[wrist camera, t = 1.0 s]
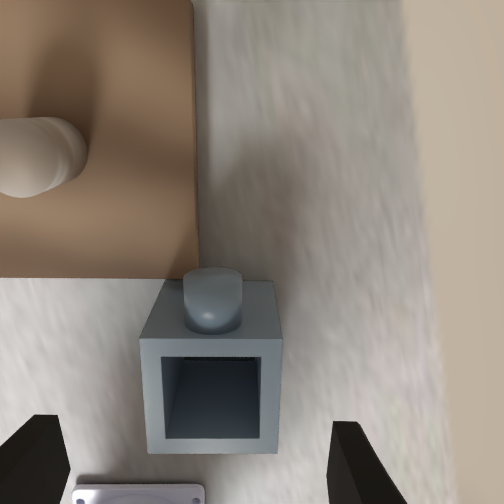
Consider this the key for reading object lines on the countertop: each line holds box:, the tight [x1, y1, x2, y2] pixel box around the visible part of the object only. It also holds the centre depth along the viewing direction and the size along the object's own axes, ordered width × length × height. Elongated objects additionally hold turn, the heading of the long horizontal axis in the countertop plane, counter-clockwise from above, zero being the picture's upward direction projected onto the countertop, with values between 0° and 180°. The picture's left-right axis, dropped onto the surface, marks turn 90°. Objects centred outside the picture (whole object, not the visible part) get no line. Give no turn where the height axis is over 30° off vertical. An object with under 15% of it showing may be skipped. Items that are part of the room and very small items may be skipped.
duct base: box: [0, 0, 200, 279], centre depth 18 cm, size 12×12×5 cm
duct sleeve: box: [139, 267, 282, 454], centre depth 20 cm, size 8×6×6 cm
